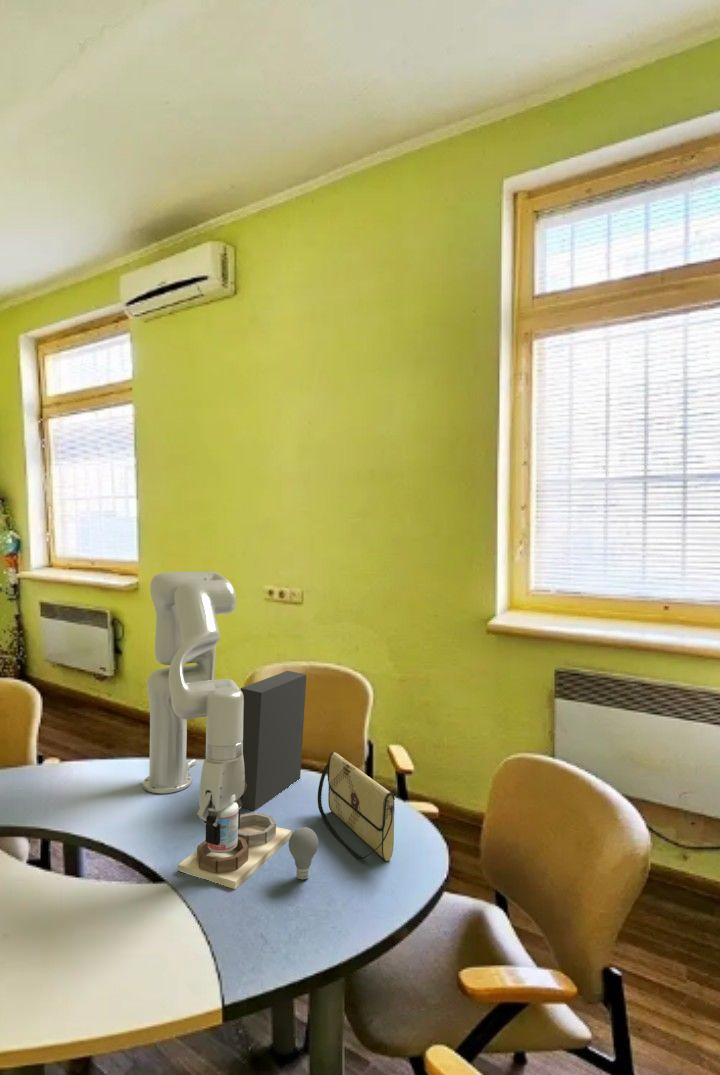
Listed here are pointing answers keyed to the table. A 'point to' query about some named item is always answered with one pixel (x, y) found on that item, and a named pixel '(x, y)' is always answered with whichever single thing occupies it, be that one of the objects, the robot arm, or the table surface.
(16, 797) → the table surface
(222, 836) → the pill bottle
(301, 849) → the light bulb
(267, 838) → the holder board
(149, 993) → the table surface
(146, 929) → the table surface
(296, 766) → the dark gray upright block
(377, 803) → the clutch purse
